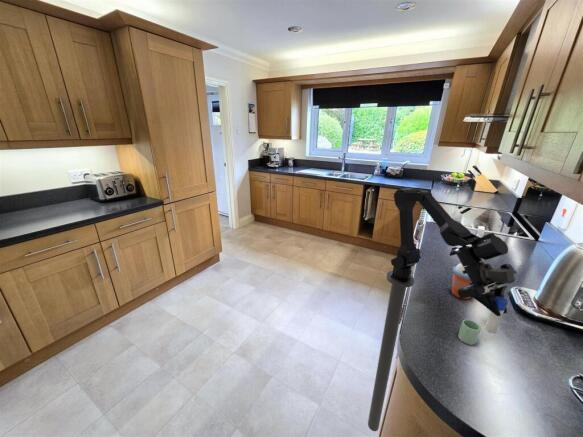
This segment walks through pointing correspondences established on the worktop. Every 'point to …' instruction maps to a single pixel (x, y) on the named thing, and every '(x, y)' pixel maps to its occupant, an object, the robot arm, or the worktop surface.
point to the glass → (469, 331)
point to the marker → (493, 319)
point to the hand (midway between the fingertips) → (502, 314)
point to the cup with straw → (459, 280)
